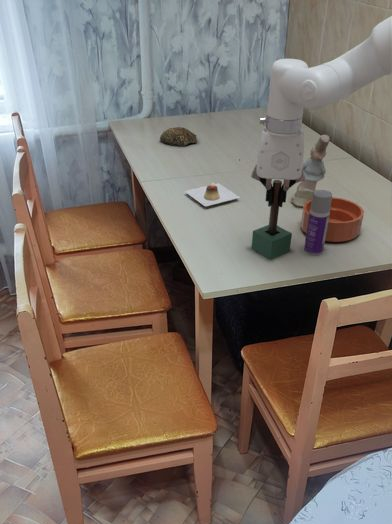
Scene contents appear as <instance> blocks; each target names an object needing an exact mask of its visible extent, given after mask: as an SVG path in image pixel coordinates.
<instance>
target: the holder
mask: <svg viewBox="0 0 392 524" xmlns="http://www.w3.org/2000/svg"><path fill="white" fill-rule="evenodd" d="M268 227H269V224H267V225H264V226H261V227H259V228H257V229H255V230H252V237H251V250H253V251H254V252H256V253H258V254H260V255H261V256H262V257H264V258H266V259H268V260H273V259H275V258H277V257H280V256H282V255H284V254H286V253H289V252H291V244H292V236H293V233H292V232H290V231H289V230H287V229H285V228H283V227H281V226H278V225H277V230H276V235H273V236H271V235H270V234H268Z"/></svg>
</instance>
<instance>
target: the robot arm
mask: <svg viewBox="0 0 392 524" xmlns="http://www.w3.org/2000/svg"><path fill="white" fill-rule="evenodd" d="M389 75H392V15H391V16H389V17H387V18H386V19H384V20H383V21H381V22H379V23H377V24H376V25H375V26H374V27H373V28H372V30H371V33H370V35H369V36H368V37H367V38H366V39H365V40H364V41H362V42H361V43H360V44H357V45H356V46H354V47H353V48H351V49H349V50H348V51H346V52H344V53H343V54H341V55H340V56H338V57H336V58H334V59H333V60H330V61H327V62H324V63H321V64H318V65H317V66H316V65H315V66H310V67H309V65H308V64H307V62H306V61H304V60H302V59H297V58H280V59H277V60H276V61H274V62H273V63H272V66H271V69H270V77H269V80H270V81H269V89H268V98H267V99H268V102H267V110H266V111H267V112H266V115H265V116H263V117H259V125H262V126H264V128H262V130H261V135H260V139H259V143H258V150H257V157H256V164H255V166H254V168H253V170H252V172H251V178H252V179H254V180H256V181H259V182H260V183H261V185H262V186H263V187H264V188H265V190H266V191H265V202H267V207H270V208H271V203H272V193H273V182H272V181H273V180H283V182H282V186H281V193H280V202H279V208H283V203H286V201H287V193H288V191H289V190H290V188H292V187H293V186H294V185H295V184H297V183H298V184H299V183H301V182H302V181H304V180H305V175H304V171H303V168H302V167H303V164H304V156H305V132H304V130H303V129H302V123H303V115H304V108H305V109H307V110H310V111H316V110H320V109H323V108H325V107H327V106H329V105H331V104H333V103H336V102H337V101H338V102H339V101H340V100H342V99H344V98H346V97H348V96H350V95H351V94H353V93H355V92H357V91H359V90H361V89H362V88H365V87H366V86H368V85H369V84H372V83H373V82H375V81H377V80H380V79H381V78H383V77H385V76H389Z"/></svg>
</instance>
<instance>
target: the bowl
mask: <svg viewBox="0 0 392 524" xmlns="http://www.w3.org/2000/svg"><path fill="white" fill-rule="evenodd" d="M311 203H312V199H311V200H309V201H307V202H306V203H305V204H304V207H303V206H302V213H301V220H300V228H301V230H302V232H304V233H305V235H306V234H307V227H308V221H309V214H310V208H311ZM364 215H365V211H364V209H363V207H362V206H361V205H359V204H358V203H357V202H354V201H352V200H350V199H345V198H342V197H336V196H335V197H334V196H332V201H331V208H330V215H329V220H328V226H327V231H326V237H325V242H330V243H332V242H333V243H336V242H341V243H342V242H346V241H351V240H353V239H355V238H357V237H358V236H359V235H360V234H361V229H362V225H363V219H364Z"/></svg>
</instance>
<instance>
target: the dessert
mask: <svg viewBox="0 0 392 524" xmlns="http://www.w3.org/2000/svg"><path fill="white" fill-rule="evenodd" d="M183 191H184V193H185V194H187V195H188V196H190V197H191V198H193V199H194V200H195V201H197V202H198V203H199V204H201V205H202V206H204V207H206V208H208V207H211V206H216V205H219V204H224V203H227V202H228V203H229V202H231V201H235V200H237V199H240V198H241V196H239V195H237V194H235V193H234V192H233V191H231V190H229V189H228V188H226V187H225V186H224V185H222V184H221V183H219V182H217V183H215V182H214V181H212V182H211V183H210V184H208V185H205V186H200V187H196V188H192V189H187V190H183Z"/></svg>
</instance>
